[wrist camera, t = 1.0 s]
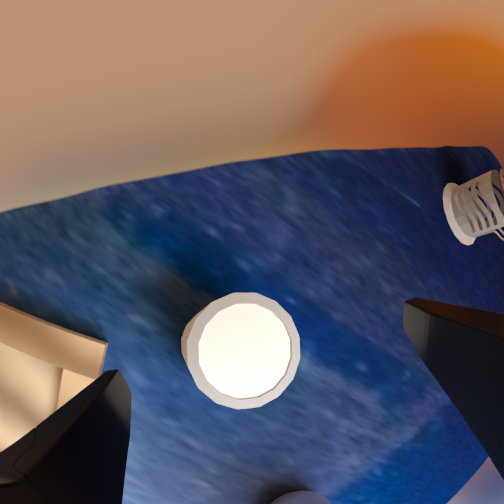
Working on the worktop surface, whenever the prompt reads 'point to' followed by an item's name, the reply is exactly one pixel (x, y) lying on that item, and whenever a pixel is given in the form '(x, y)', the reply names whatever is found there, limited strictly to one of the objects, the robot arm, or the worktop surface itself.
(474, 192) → the french press
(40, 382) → the holder tray
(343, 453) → the worktop surface
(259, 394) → the white tapered cup
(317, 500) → the plastic bottle
